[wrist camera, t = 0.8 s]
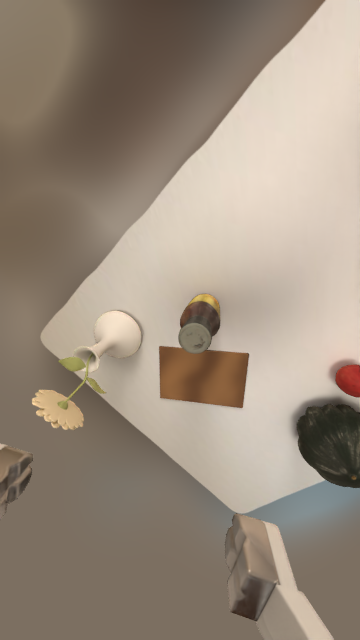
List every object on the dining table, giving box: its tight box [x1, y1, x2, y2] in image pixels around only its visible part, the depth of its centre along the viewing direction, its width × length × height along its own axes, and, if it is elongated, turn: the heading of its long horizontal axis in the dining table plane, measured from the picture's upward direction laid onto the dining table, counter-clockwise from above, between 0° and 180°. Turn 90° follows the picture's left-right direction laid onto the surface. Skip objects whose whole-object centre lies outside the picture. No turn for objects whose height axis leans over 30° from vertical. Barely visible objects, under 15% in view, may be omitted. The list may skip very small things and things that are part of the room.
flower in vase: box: [32, 311, 141, 430], centre depth 37 cm, size 13×11×25 cm
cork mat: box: [159, 346, 249, 408], centre depth 48 cm, size 20×14×1 cm
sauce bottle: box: [179, 294, 220, 354], centre depth 34 cm, size 6×6×20 cm
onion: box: [336, 365, 360, 397], centre depth 39 cm, size 6×6×8 cm
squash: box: [297, 404, 360, 488], centre depth 41 cm, size 14×15×15 cm
